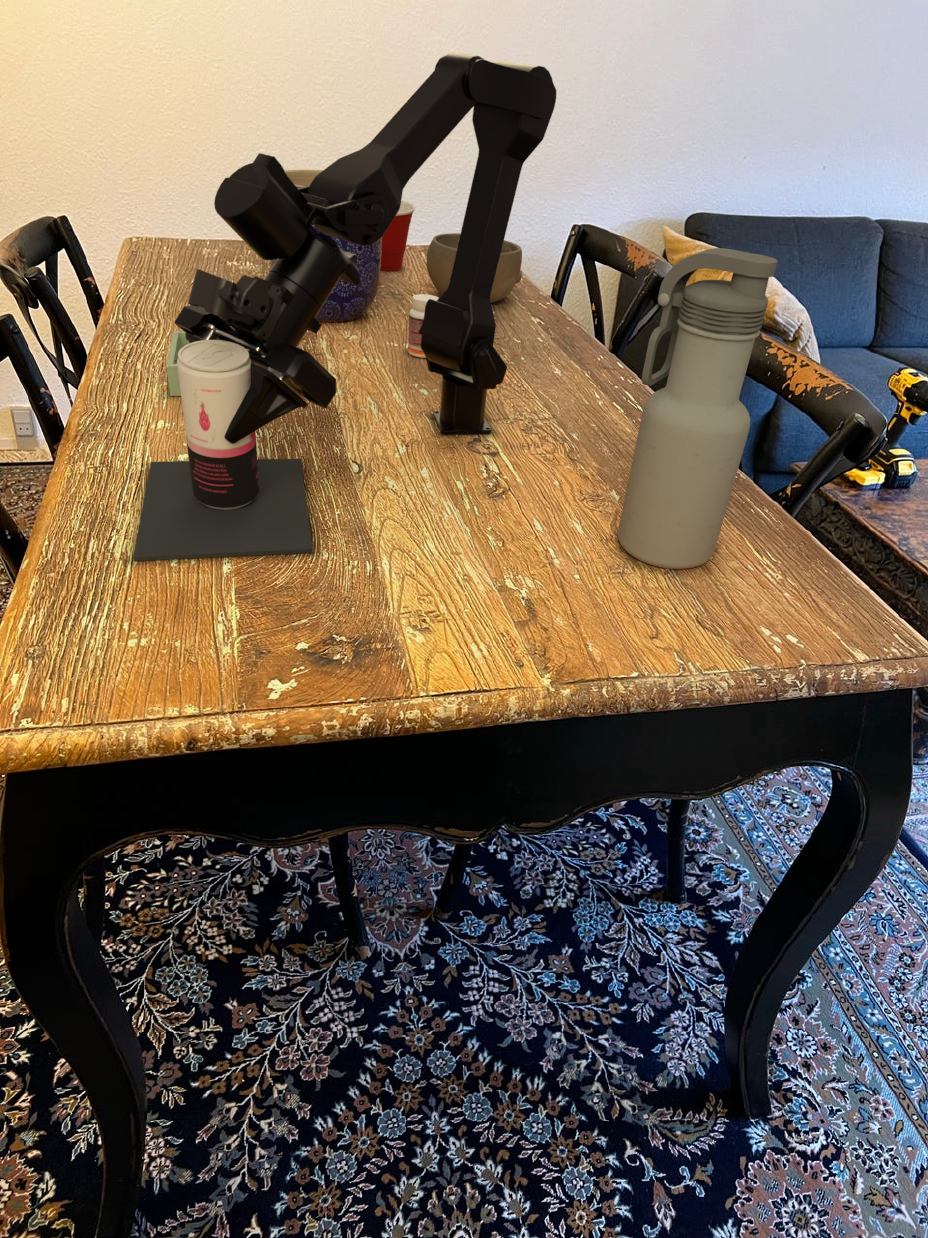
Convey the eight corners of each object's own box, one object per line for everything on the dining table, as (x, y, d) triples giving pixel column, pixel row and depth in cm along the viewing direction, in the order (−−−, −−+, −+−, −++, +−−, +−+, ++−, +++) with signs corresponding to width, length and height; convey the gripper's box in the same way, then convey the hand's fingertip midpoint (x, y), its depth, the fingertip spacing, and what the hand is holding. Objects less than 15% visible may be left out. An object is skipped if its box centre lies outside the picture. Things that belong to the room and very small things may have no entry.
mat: (312, 552, 79) (312, 548, 79) (133, 561, 76) (133, 556, 76) (300, 462, 95) (300, 458, 95) (151, 465, 92) (150, 461, 91)
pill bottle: (434, 360, 127) (437, 303, 122) (404, 355, 128) (406, 299, 123) (441, 350, 131) (444, 295, 126) (412, 346, 132) (414, 291, 127)
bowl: (526, 293, 164) (532, 238, 158) (505, 316, 149) (511, 257, 144) (441, 281, 167) (444, 226, 161) (413, 302, 152) (415, 243, 147)
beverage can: (272, 489, 87) (265, 352, 77) (232, 519, 83) (219, 377, 73) (221, 469, 89) (208, 332, 79) (179, 497, 84) (160, 355, 75)
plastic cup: (351, 269, 169) (351, 204, 162) (372, 258, 178) (372, 196, 171) (402, 277, 167) (404, 211, 160) (420, 266, 176) (422, 203, 169)
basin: (285, 395, 111) (283, 365, 109) (170, 396, 108) (166, 365, 106) (280, 358, 123) (279, 331, 120) (176, 358, 120) (172, 330, 117)
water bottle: (596, 548, 84) (653, 250, 68) (636, 513, 91) (696, 235, 75) (691, 584, 80) (777, 275, 64) (726, 544, 87) (810, 256, 70)
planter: (251, 317, 138) (241, 177, 126) (303, 292, 153) (299, 165, 141) (353, 335, 134) (352, 193, 122) (397, 308, 148) (400, 178, 137)
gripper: (179, 214, 78) (89, 354, 78) (306, 256, 68) (203, 417, 68) (256, 289, 88) (176, 415, 87) (377, 336, 78) (287, 477, 77)
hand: (206, 429), depth 80 cm, fingers closed on beverage can, 6 cm apart
